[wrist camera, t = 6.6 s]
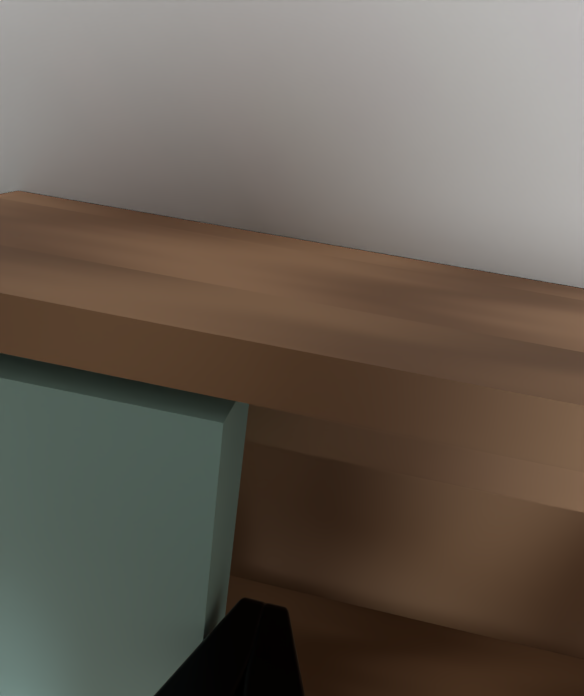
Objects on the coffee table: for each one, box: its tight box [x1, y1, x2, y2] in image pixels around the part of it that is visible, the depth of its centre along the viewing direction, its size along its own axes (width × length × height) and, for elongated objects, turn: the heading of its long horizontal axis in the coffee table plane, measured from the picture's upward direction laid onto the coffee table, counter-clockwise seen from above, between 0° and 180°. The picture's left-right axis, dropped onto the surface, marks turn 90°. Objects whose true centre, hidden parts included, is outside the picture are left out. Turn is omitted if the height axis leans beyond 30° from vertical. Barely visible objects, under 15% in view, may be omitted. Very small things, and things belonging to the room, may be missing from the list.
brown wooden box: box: [0, 191, 584, 696], centre depth 11 cm, size 18×11×6 cm, turn 82°
